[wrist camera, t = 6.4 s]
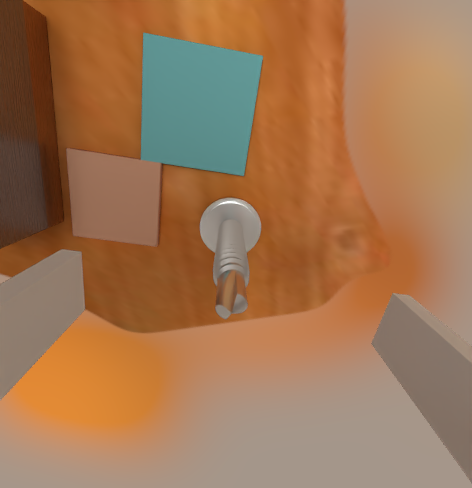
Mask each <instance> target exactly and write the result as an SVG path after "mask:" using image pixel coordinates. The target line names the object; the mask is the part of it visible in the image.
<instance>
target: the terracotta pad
mask: <svg viewBox="0 0 472 488" xmlns="http://www.w3.org/2000/svg"><path fill="white" fill-rule="evenodd" d="M66 153H67V166H68V179H69V191H70V204H71V217H72V230H73V236H79V237H86V238H94V239H102V240H109V241H117V242H124V243H132V244H140V245H147V246H155V247H157V246H158V244H159V226H160V206H161V185H162V165H163V163H158V162H151V161H145V160H141V159H137V158H130V157H124V156H118V155H111V154H105V153H98V152H92V151H86V150H79V149H73V148H66Z"/></svg>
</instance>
